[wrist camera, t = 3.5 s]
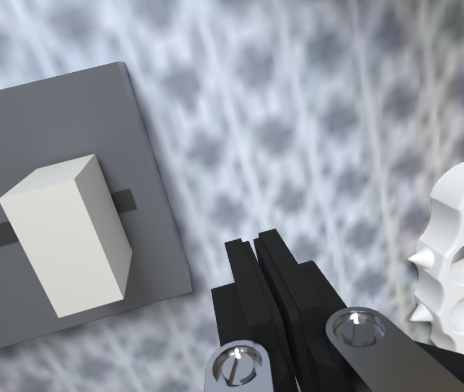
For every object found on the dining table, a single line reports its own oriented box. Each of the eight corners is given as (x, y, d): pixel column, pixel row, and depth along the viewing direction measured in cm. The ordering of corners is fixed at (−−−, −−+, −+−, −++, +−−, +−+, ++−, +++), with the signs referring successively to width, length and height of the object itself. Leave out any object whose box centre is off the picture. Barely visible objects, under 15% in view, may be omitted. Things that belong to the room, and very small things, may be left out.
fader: (36, 168, 18) (-2, 199, 14) (94, 153, 19) (73, 179, 14) (80, 266, 21) (58, 318, 16) (132, 252, 21) (123, 299, 17)
